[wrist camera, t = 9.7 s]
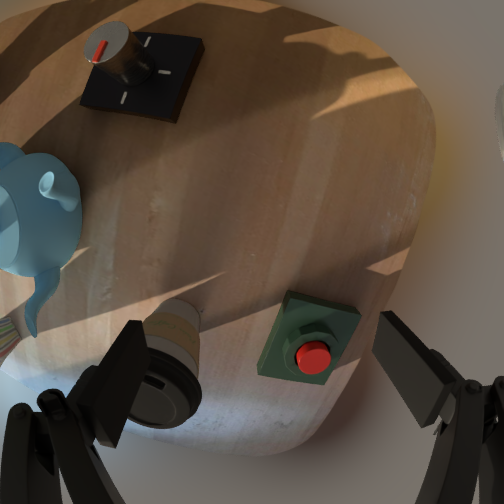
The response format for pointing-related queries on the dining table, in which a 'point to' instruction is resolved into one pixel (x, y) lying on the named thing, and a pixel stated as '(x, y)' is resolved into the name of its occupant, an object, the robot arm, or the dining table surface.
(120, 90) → the panel
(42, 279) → the teapot
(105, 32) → the stove knob
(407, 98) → the dining table surface
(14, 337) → the vase
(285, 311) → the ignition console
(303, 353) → the button
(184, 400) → the coffee cup
